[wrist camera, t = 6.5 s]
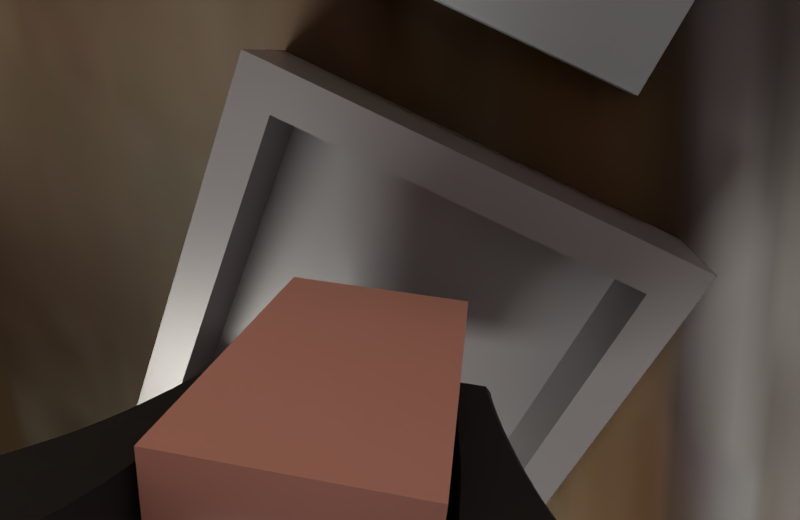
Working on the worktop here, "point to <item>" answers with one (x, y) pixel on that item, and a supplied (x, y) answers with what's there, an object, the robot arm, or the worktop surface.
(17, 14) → the worktop surface
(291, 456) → the block
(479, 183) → the tray
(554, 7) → the board
